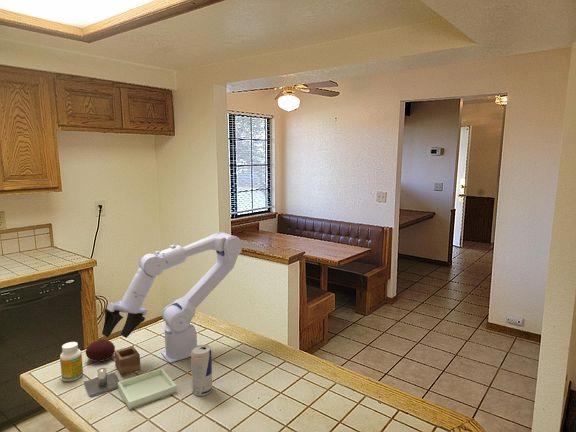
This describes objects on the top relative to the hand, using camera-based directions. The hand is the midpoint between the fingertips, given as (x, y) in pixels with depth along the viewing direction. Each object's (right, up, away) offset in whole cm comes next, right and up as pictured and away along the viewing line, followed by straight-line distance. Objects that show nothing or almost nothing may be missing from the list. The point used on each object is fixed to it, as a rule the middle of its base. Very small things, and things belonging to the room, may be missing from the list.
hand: (114, 335), depth 113 cm
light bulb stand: (-1, -12, -5) cm, 13 cm away
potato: (-8, -10, +9) cm, 16 cm away
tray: (+12, -13, -8) cm, 19 cm away
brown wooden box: (+2, -11, +4) cm, 12 cm away
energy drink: (+27, -13, -8) cm, 31 cm away
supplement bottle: (-12, -12, -1) cm, 17 cm away
